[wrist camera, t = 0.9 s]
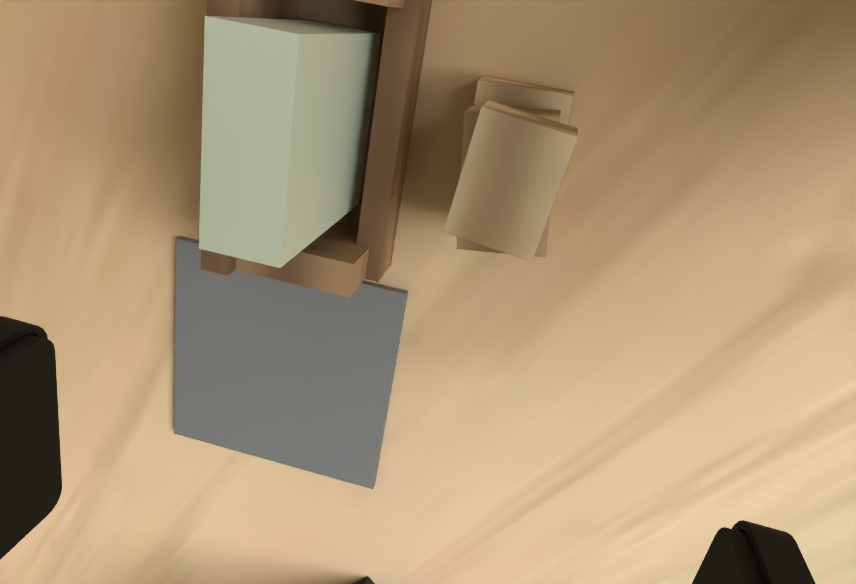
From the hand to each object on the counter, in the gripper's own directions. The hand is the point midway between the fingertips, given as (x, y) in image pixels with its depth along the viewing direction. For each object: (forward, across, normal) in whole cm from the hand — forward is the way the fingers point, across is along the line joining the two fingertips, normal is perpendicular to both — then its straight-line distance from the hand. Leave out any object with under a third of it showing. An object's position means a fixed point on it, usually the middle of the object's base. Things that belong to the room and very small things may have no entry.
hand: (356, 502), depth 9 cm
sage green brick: (+31, +10, 0) cm, 33 cm away
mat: (+31, +12, +19) cm, 38 cm away
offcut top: (+25, 0, 0) cm, 25 cm away
